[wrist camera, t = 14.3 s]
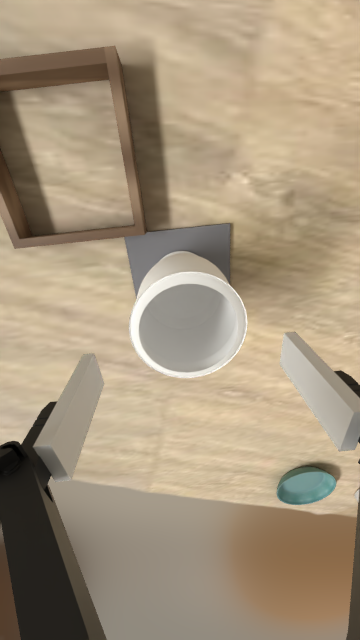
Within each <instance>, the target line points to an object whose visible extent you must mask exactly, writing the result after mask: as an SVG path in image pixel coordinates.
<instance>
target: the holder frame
mask: <svg viewBox="0 0 360 640" xmlns="http://www.w3.org/2000/svg"><path fill="white" fill-rule="evenodd" d="M108 79H109V80H110V85H111V91H112V97H113V103H114V108H115V114H116V120H117V126H118V132H119V137H120V143H121V149H122V155H123V160H124V166H125V172H126V178H127V183H128V189H129V195H130V201H131V206H132V212H133V218H134V224H135V225H131V226H122V227H113V228H103V229H94V230H85V231H75V232H66V233H57V234H48V235H38V236H33V235H32V233H31V230H30V227H29V225H28V222H27V219H26V216H25V214H24V211H23V208H22V206H21V203H20V200H19V198H18V195H17V192H16V190H15V187H14V184H13V181H12V179H11V176H10V173H9V171H8V168H7V165H6V163H5V160H4V157H3V154H2V152H1V149H0V215H1V217H2V219H3V222H4V224H5V227H6V229H7V231H8V234H9V236H10V239H11V241H12V243H13V246H14V248H15V249H16V248H26V247H35V246H45V245H54V244H63V243H73V242H82V241H91V240H101V239H110V238H119V237H129V236H138V235H145V234H146V233H147V229H146V222H145V216H144V209H143V203H142V196H141V190H140V183H139V176H138V170H137V163H136V157H135V150H134V144H133V137H132V131H131V124H130V117H129V111H128V104H127V98H126V91H125V85H124V78H123V72H122V65H121V62H120V59H119V56H118V53H117V50H116V47H115V46H110V47H101V48H93V49H84V50H75V51H67V52H58V53H49V54H41V55H32V56H23V57H15V58H6V59H0V92H3V91H12V90H20V89H29V88H38V87H47V86H55V85H64V84H73V83H82V82H91V81H99V80H108Z"/></svg>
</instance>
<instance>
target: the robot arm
mask: <svg viewBox="0 0 360 640" xmlns="http://www.w3.org/2000/svg"><path fill="white" fill-rule="evenodd" d="M280 366H281V367H282V369H283V370H284V371H285V373H286V374H287V376H288V377H289V379H290V380H291V382H292V383H293V385H294V386H295V388H296V389H297V391H298V392H299V393H300V395H301V396H302V398H303V399H304V401H305V402H306V404H307V405H308V407H309V408H310V410H311V411H312V412H313V414H314V415H315V417H316V418H317V420H318V421H319V423H320V424H321V426H322V427H323V429H324V430H325V431H326V433H327V434H328V436H329V437H330V439H331V440H332V442H333V443H334V445H335V446H336V448H337V449H338V450H339V451H348V450H355V448H356V446H357V444H358V442H359V443H360V385H358V383H357V382H356V381H355V380H354V379H353V378H352V377H351V376H349V375H348V374H346V373H344V372H343V371H333V370H332V369H331V368H330V367H329V366H328V365H327V364H326V363H325V362H324V361H323V360H322V359H321V358H320V357H319V356H318V355H317V354H316V353H315V352H314V351H313V349H312V348H311V347H310V346H309V345H308V344H307V343H306V342H305V341H304V340H303V339H302V338H301V337H300V336H299V335H298V334H297V333H296V332H287V333H284V337H283V344H282V351H281V358H280ZM103 386H104V381H103V378H102V375H101V372H100V369H99V366H98V363H97V360H96V357H95V354H94V353H92V354H83V356H82V358H81V359H80V361H79V363H78V365H77V367H76V369H75V370H74V372H73V374H72V376H71V378H70V380H69V381H68V383H67V385H66V387H65V389H64V391H63V392H62V394H61V396H60V398H59V400H58V402H50V403H49V404H48V405H47V406H46V407H45V408H44V409H42V411H41V412H40V414H39V416H38V417H37V420H36V421H35V422H34V424H33V427H32V428H31V429H30V431H29V433H28V434H27V436H26V438H25V439H24V441H23V443H22V444H21V445H20V443H19V442H16V441H11V442H7V443H5V444H3V445H1V446H0V525H1V524H2V530H3V536H4V542H5V548H6V554H7V559H8V566H9V572H10V577H11V583H12V589H13V595H14V601H15V607H16V613H17V618H18V624H19V631H20V637H21V640H106V636H105V634H104V631H103V629H102V626H101V623H100V621H99V618H98V615H97V612H96V610H95V607H94V604H93V602H92V599H91V596H90V594H89V591H88V588H87V586H86V583H85V580H84V578H83V575H82V572H81V570H80V567H79V565H78V562H77V559H76V557H75V554H74V551H73V548H72V546H71V543H70V541H69V538H68V536H67V533H66V530H65V527H64V525H63V522H62V519H61V517H60V514H59V511H58V509H57V506H56V503H55V501H54V498H53V495H52V493H51V490H50V487H49V486H48V481H49V479H50V477H51V476H52V477H53V479H54V480H55V482H58V481H67V480H71V479H72V476H73V473H74V470H75V467H76V464H77V461H78V458H79V455H80V453H81V450H82V447H83V444H84V441H85V438H86V435H87V432H88V429H89V426H90V423H91V421H92V418H93V415H94V412H95V409H96V406H97V403H98V400H99V397H100V394H101V391H102V389H103ZM358 463H359V464H360V459H359V462H358ZM346 640H360V489H359V502H358V514H357V527H356V539H355V552H354V564H353V577H352V589H351V602H350V615H349V626H348V634H347V638H346Z"/></svg>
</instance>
